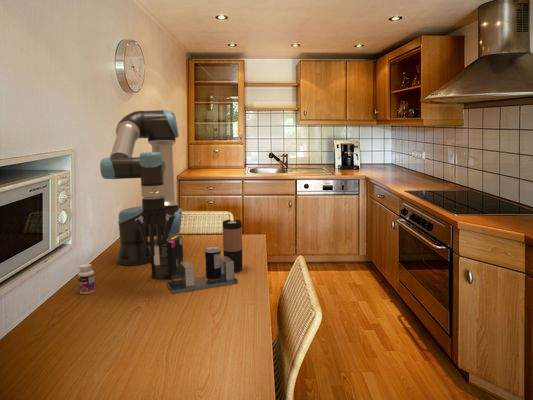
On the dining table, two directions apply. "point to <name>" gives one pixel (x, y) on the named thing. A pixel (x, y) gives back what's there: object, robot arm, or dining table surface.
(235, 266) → the travel mug
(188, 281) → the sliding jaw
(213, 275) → the beverage can
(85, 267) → the pill bottle
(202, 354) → the dining table surface
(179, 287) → the vise base
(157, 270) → the tampon box
